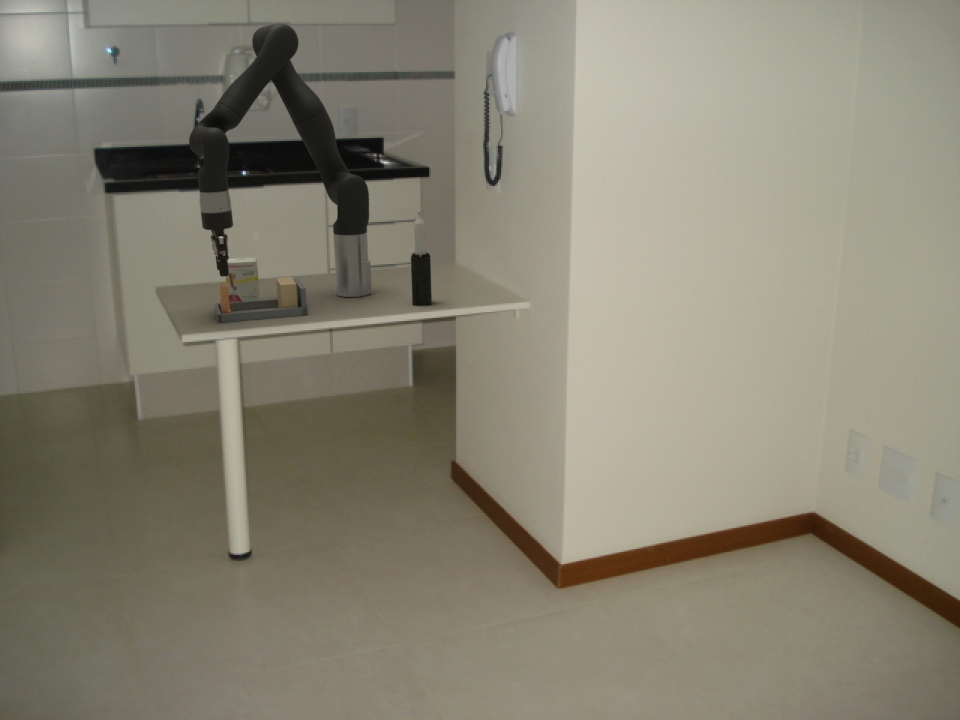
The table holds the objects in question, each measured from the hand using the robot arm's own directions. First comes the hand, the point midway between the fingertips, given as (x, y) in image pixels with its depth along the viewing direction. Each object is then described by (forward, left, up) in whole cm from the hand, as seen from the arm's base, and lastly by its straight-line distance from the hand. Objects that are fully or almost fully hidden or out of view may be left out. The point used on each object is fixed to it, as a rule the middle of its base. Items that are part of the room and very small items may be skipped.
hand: (223, 272), depth 255 cm
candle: (-51, +5, -12) cm, 52 cm away
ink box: (-6, -14, -12) cm, 19 cm away
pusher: (0, 0, -11) cm, 11 cm away
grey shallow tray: (-9, 0, -11) cm, 14 cm away
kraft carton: (-16, 0, -11) cm, 19 cm away
